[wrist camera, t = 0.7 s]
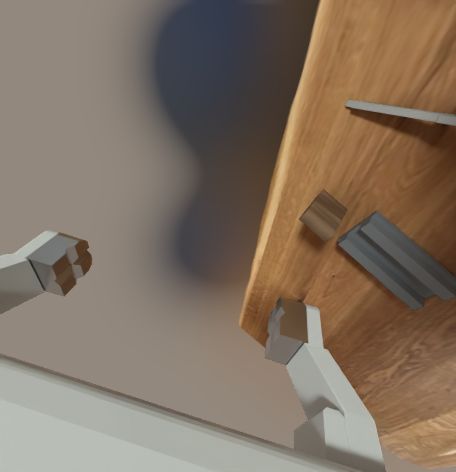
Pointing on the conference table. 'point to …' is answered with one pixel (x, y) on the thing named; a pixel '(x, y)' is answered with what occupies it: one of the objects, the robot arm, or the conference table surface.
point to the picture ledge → (397, 261)
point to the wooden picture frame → (323, 215)
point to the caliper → (404, 112)
